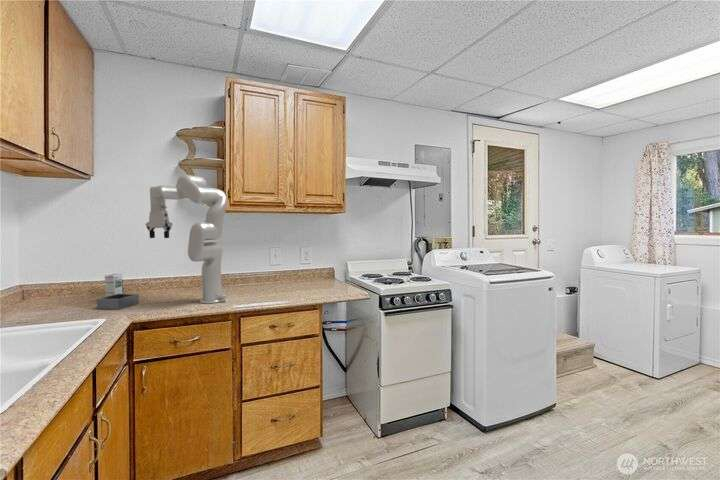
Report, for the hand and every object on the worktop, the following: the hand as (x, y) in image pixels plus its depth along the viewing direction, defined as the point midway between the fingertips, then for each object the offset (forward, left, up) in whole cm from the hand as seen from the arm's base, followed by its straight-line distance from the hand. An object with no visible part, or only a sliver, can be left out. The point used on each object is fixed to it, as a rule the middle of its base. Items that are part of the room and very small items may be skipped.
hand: (159, 238), depth 204 cm
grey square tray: (+1, +28, -33) cm, 44 cm away
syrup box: (+14, +18, -34) cm, 40 cm away
